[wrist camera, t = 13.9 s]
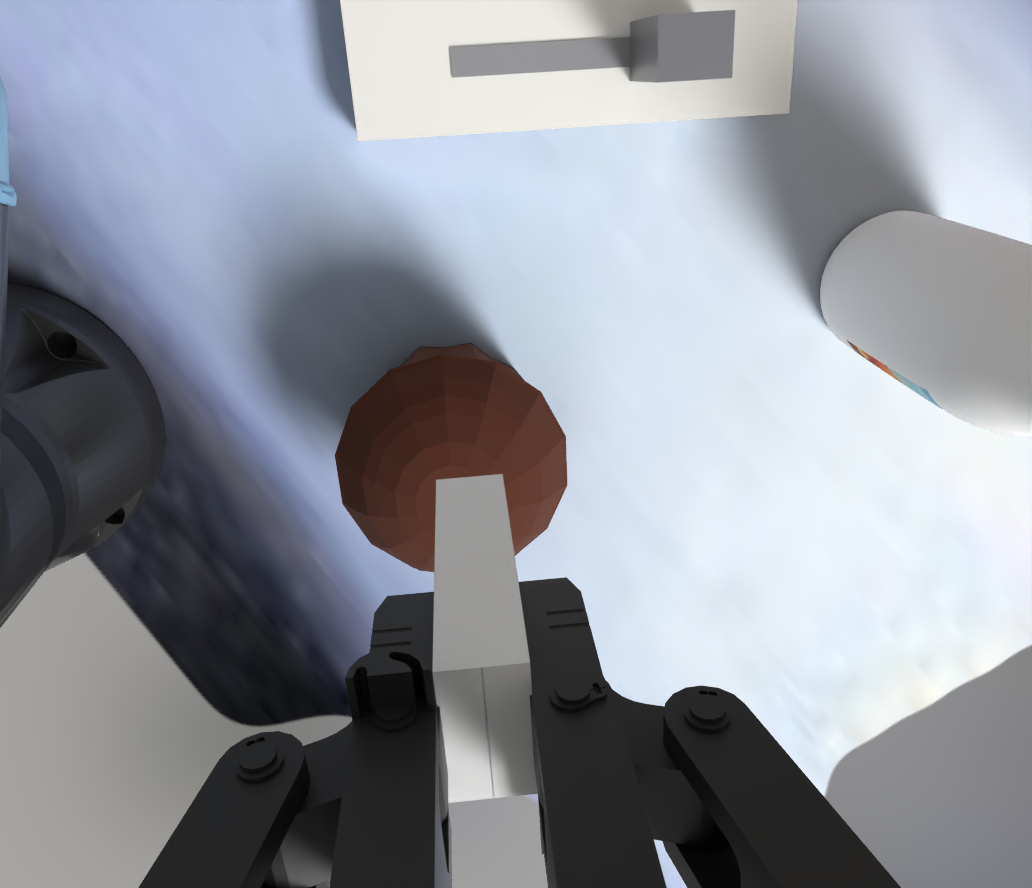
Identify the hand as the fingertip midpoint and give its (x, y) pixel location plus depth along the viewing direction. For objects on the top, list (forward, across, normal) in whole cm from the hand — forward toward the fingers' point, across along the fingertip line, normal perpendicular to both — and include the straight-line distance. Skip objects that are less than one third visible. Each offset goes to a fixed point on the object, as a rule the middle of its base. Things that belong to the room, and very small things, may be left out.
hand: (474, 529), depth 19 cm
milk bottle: (+27, -23, +2) cm, 35 cm away
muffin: (+27, +1, +8) cm, 28 cm away
